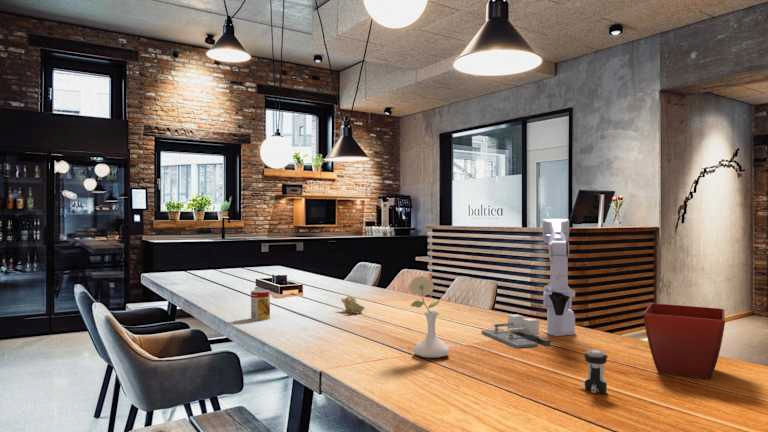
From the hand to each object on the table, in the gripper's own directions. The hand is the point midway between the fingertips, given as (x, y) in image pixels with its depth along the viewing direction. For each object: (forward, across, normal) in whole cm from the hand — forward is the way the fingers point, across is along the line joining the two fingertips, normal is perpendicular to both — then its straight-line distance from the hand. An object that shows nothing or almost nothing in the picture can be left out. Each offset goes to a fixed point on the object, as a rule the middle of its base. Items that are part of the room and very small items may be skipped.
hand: (559, 315), depth 185 cm
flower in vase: (+10, +1, -49) cm, 50 cm away
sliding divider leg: (+8, -8, -10) cm, 15 cm away
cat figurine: (+10, -82, -52) cm, 97 cm away
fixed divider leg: (+8, -18, -9) cm, 22 cm away
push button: (+10, +46, -24) cm, 53 cm away
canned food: (+10, -80, -93) cm, 123 cm away
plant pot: (+10, +40, +12) cm, 43 cm away
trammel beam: (+9, -10, -6) cm, 15 cm away
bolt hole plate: (+9, -10, -14) cm, 20 cm away
